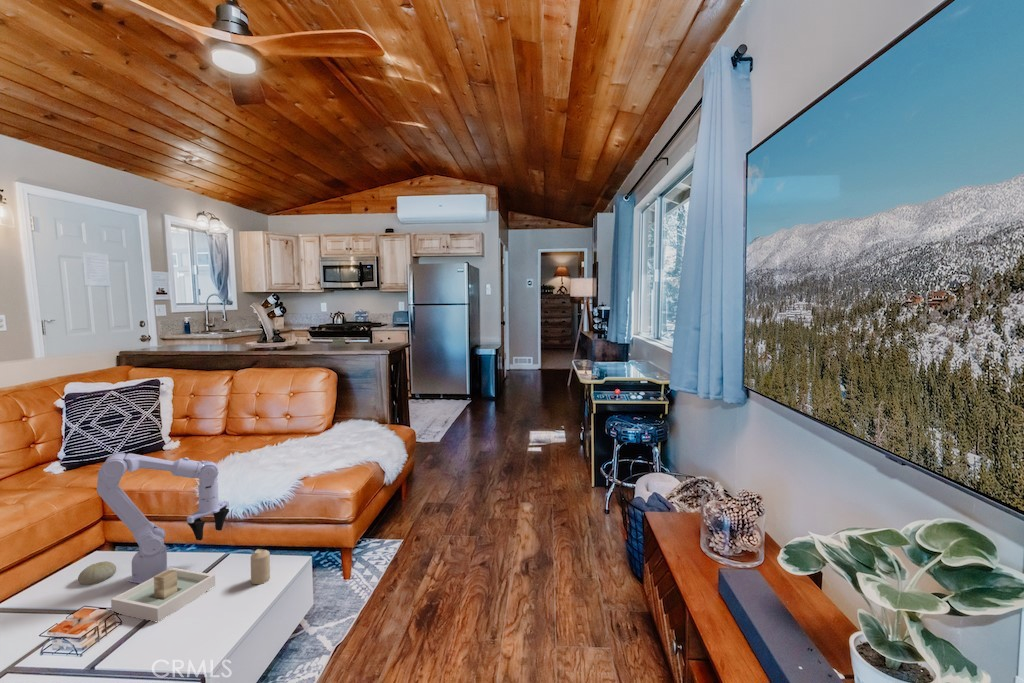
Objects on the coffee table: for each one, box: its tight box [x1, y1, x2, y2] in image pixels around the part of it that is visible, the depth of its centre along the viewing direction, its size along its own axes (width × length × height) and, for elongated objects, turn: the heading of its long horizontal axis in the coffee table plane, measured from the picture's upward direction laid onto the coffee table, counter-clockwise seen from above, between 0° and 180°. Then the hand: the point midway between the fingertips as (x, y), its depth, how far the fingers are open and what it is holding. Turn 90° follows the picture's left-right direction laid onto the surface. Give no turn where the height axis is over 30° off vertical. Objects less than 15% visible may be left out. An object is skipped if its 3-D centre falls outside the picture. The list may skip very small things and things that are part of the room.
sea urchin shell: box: [77, 561, 117, 585], centre depth 148 cm, size 9×8×8 cm
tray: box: [110, 566, 216, 623], centre depth 136 cm, size 18×18×4 cm
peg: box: [154, 569, 177, 600], centre depth 136 cm, size 4×4×8 cm
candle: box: [250, 548, 271, 585], centre depth 147 cm, size 6×6×10 cm
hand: (209, 534), depth 157 cm, fingers open, 7 cm apart
